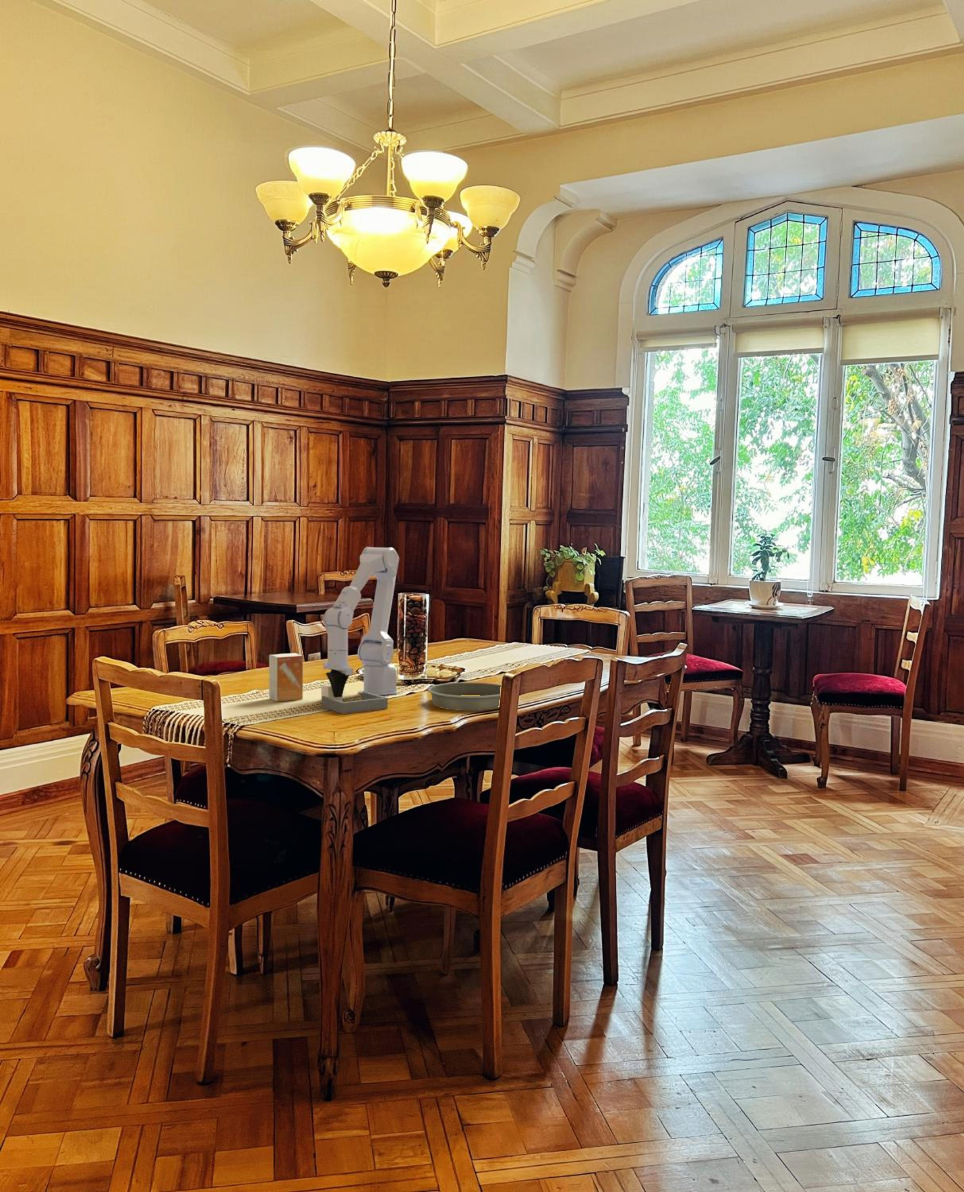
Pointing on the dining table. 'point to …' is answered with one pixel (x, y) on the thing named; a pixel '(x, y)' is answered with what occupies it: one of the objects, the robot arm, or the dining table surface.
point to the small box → (286, 677)
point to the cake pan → (452, 698)
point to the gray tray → (356, 704)
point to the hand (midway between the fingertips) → (337, 696)
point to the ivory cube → (328, 692)
